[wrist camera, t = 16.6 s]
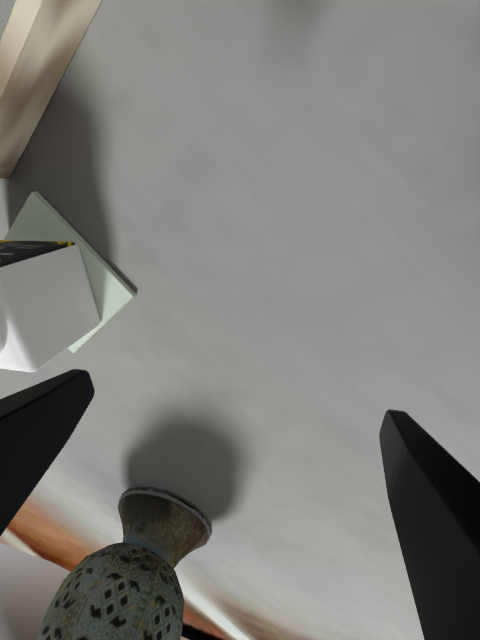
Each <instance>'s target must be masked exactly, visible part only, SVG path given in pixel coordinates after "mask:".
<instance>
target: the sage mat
mask: <svg viewBox="0 0 480 640" xmlns="http://www.w3.org/2000/svg"><path fill="white" fill-rule="evenodd" d="M4 240H16V241H64V242H76V243H77V244H78V246H79V248H80V252H81V255H82V259H83V262H84V266H85V269H86V273H87V276H88V280H89V283H90V287H91V290H92V294H93V297H94V301H95V304H96V308H97V311H98V315H99V318H100V324H99V326H97V327H96V328H94V329H93V330H92V331H90V332H89V333H88V334H86V335H85V336H83V337H82V338H81V339H79V340H78V341H77V342H75V343H74V344H73V345H71V346H70V347H68V349H69V350H70V351H71V352H72V353H74V352H76V351H77V350H78V349H79V348H80V347H81V346H82V345H83V344H84V343H85V342H87V341H88V340H89V339H90V338H91V337H92V336H93V335H94V334H95V333H96V332H97V331H98V330H99V329H100V328H101V327H102V326H103V325H104V324H106V323H107V322H108V321H109V320H110V319H111V318H112V317H113V316H114V315H115V314H116V313H117V312H118V311H119V310H120V309H121V308H122V307H123V306H124V305H126V304H127V303H128V302H129V301H130V300H131V299H132V298H133V297H134V296H135V295H136V293H135V292H134V291H133V290H132V289H131V288H130V287H129V286H128V285H127V284H126V283H125V282H124V281H123V280H122V279H121V278H120V276H119V275H118V274H117V273H116V272H115V271H114V270H113V269H112V268H111V267H110V266H109V265H108V264H107V263H106V262H105V261H104V260H103V259H102V258H101V257H100V256H99V255H98V254H97V253H96V252H95V251H94V250H93V248H92V247H91V246H90V245H89V244H88V243H87V242H86V241H85V240H84V239H83V238H82V237H81V236H80V235H79V234H78V233H77V232H76V231H75V230H74V229H73V228H72V227H71V226H70V225H69V224H68V223H67V221H66V220H65V219H64V218H63V217H62V216H61V215H60V214H59V213H58V212H57V211H56V210H55V209H54V208H53V207H52V206H51V205H50V204H49V203H48V202H47V201H46V200H45V199H44V198H43V197H42V196H41V194H40V193H39V192H38V191H35V192H31V194H30V195H29V197H28V199H27V201H26V202H25V204H24V206H23V207H22V209H21V211H20V213H19V214H18V216H17V218H16V219H15V221H14V223H13V225H12V226H11V228H10V230H9V231H8V233H7V235H6V237H5V238H4Z"/></svg>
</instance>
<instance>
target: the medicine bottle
mask: <svg viewBox="0 0 480 640" xmlns="http://www.w3.org/2000/svg"><path fill="white" fill-rule="evenodd" d="M99 324H100V318H99V315H98V311H97V308H96V304H95V301H94V297H93V294H92V290H91V287H90V283H89V280H88V276H87V273H86V269H85V266H84V262H83V259H82V255H81V252H80V248H79V246H78V244H77V243H76V242H64V241H16V240H1V241H0V368H2V369H9V370H17V371H25V372H35V371H37V370H38V369H40V368H41V367H42V366H44V365H45V364H47V363H48V362H49V361H51V360H52V359H53V358H55V357H56V356H58V355H59V354H60V353H62V352H63V351H64V350H66V349H67V348H68V347H70V346H71V345H73V344H74V343H75V342H77V341H78V340H79V339H81V338H82V337H83V336H85V335H86V334H88V333H89V332H90V331H92V330H93V329H94V328H96V327H97V326H99Z"/></svg>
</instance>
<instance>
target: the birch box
mask: <svg viewBox="0 0 480 640" xmlns="http://www.w3.org/2000/svg"><path fill="white" fill-rule="evenodd" d="M101 1H102V0H16V3H15V5H14V8H13V10H12V13H11V16H10V18H9V21H8V23H7V26H6V28H5V31H4V34H3V36H2V39H1V41H0V178H10V176H11V174H12V173H13V171H14V169H15V167H16V165H17V163H18V161H19V159H20V157H21V155H22V153H23V151H24V149H25V147H26V146H27V144H28V142H29V140H30V138H31V136H32V134H33V132H34V130H35V128H36V126H37V124H38V122H39V121H40V119H41V117H42V115H43V113H44V111H45V109H46V107H47V105H48V103H49V101H50V99H51V97H52V95H53V94H54V92H55V90H56V88H57V86H58V84H59V82H60V80H61V78H62V76H63V74H64V72H65V70H66V69H67V67H68V65H69V63H70V61H71V59H72V57H73V55H74V53H75V51H76V49H77V47H78V45H79V43H80V42H81V40H82V38H83V36H84V34H85V32H86V30H87V28H88V26H89V24H90V22H91V20H92V18H93V17H94V15H95V13H96V11H97V9H98V7H99V5H100V3H101Z"/></svg>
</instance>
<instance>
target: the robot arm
mask: <svg viewBox="0 0 480 640" xmlns="http://www.w3.org/2000/svg"><path fill="white" fill-rule="evenodd" d="M94 392H95V391H94V387H93V384H92V381H91V378H90V375H89V373H88V372H87V371H86V370H80V369H73V370H70V371H68V372H66V373H63V374H61V375H58V376H56V377H53V378H51V379H49V380H46V381H44V382H41V383H39V384H36V385H34V386H32V387H29V388H27V389H24V390H22V391H19V392H17V393H15V394H12V395H10V396H7V397H5V398H2V399H0V536H1V535H2V533H3V532H4V530H5V529H6V528H7V526H8V525H9V523H10V522H11V520H12V519H13V518H14V516H15V515H16V513H17V512H18V511H19V509H20V508H21V506H22V505H23V503H24V502H25V501H26V499H27V498H28V496H29V495H30V494H31V492H32V491H33V489H34V488H35V487H36V485H37V484H38V482H39V481H40V479H41V478H42V477H43V475H44V474H45V472H46V471H47V470H48V468H49V467H50V465H51V464H52V462H53V461H54V460H55V458H56V457H57V455H58V454H59V453H60V451H61V450H62V448H63V447H64V445H65V444H66V442H67V441H68V439H69V438H70V436H71V434H72V433H73V431H74V429H75V428H76V426H77V424H78V423H79V421H80V419H81V417H82V416H83V414H84V412H85V411H86V409H87V407H88V405H89V404H90V402H91V400H92V399H93V396H94ZM379 437H380V446H381V453H382V460H383V466H384V473H385V480H386V487H387V493H388V499H389V503H390V508H391V512H392V516H393V519H394V523H395V527H396V531H397V535H398V539H399V543H400V547H401V550H402V554H403V558H404V562H405V566H406V570H407V574H408V577H409V581H410V585H411V589H412V593H413V597H414V601H415V604H416V608H417V612H418V616H419V620H420V624H421V628H422V631H423V635H424V639H425V640H480V482H479V481H478V480H477V479H476V478H475V477H474V476H473V475H472V474H471V473H470V472H468V471H467V470H466V469H465V468H464V467H463V466H462V465H461V464H460V463H459V462H458V461H457V460H456V459H455V458H454V457H453V456H452V455H450V454H449V453H448V452H447V451H446V450H445V449H444V448H443V447H442V446H441V445H440V444H439V443H438V442H437V441H436V440H435V439H434V438H432V437H431V436H430V435H429V434H428V433H427V432H426V431H425V430H424V429H423V428H422V427H421V426H420V425H419V424H418V423H417V422H415V421H414V420H413V419H412V418H411V417H410V416H409V415H408V414H407V413H406V412H404V411H398V410H387V411H386V413H385V416H384V419H383V423H382V426H381V429H380V435H379Z"/></svg>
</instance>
